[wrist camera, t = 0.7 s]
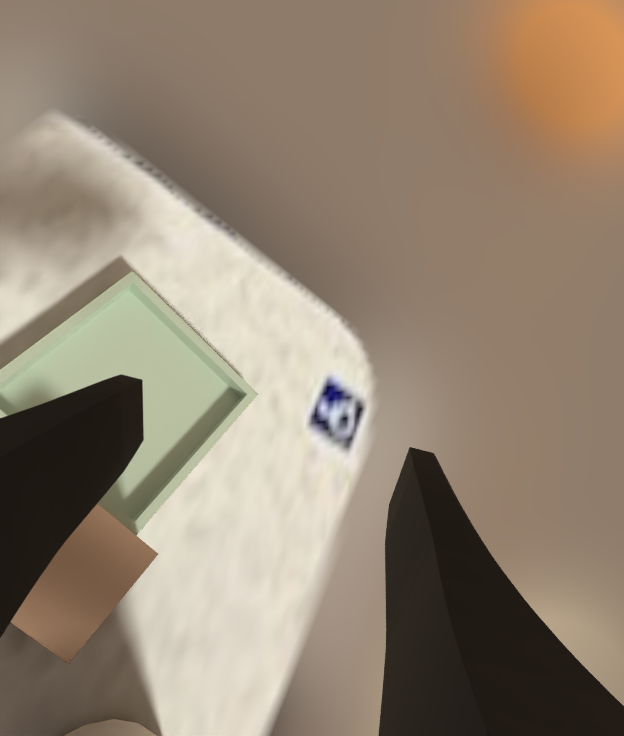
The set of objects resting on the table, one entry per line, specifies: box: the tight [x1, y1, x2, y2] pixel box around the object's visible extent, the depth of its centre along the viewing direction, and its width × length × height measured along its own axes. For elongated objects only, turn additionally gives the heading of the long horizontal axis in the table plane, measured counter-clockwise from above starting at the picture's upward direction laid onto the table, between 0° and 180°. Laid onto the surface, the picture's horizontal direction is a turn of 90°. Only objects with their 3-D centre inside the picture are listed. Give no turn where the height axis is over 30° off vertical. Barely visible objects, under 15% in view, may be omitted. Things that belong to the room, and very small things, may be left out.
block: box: [11, 504, 158, 664], centre depth 19 cm, size 4×4×6 cm
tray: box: [0, 271, 258, 535], centre depth 24 cm, size 10×10×2 cm
